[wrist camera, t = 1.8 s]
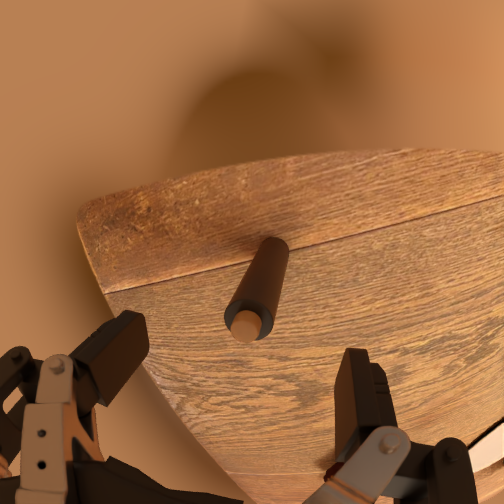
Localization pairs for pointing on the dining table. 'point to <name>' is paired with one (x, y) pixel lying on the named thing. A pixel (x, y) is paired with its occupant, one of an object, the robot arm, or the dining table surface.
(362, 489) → the robot arm
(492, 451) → the plate
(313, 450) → the dining table surface
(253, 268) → the dark brown cylinder rod
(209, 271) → the dining table surface
